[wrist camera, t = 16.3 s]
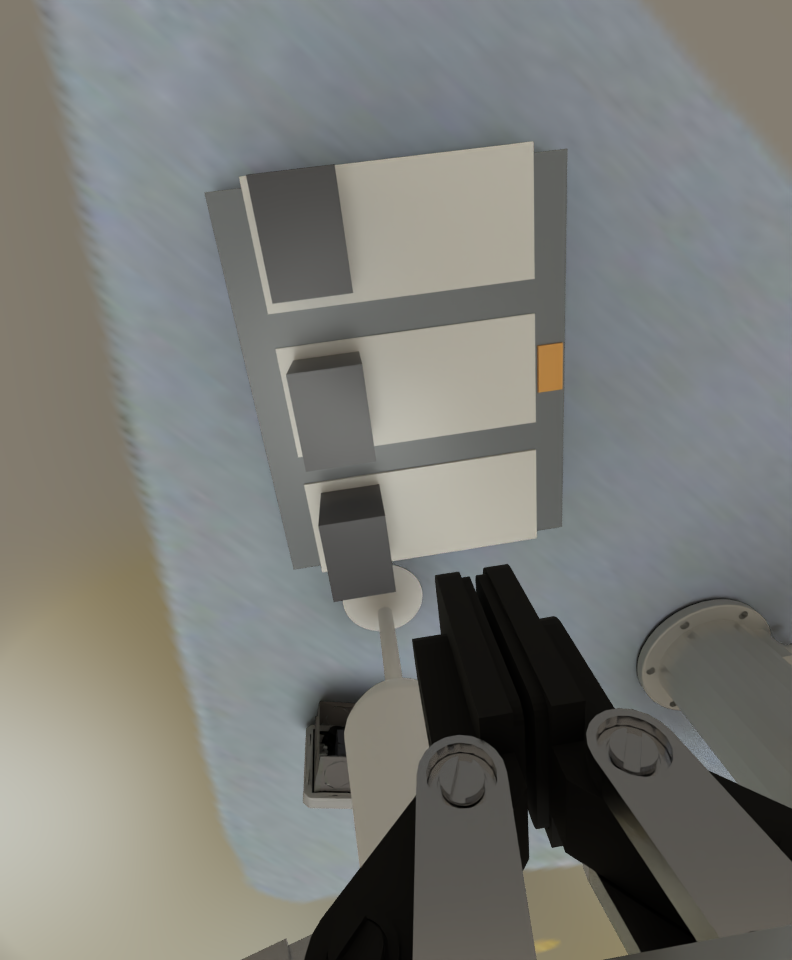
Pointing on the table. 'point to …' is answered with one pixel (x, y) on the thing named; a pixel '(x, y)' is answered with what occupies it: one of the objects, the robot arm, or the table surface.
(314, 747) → the electrical switch
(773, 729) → the robot arm
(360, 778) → the champagne flute
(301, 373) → the block
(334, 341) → the breaker panel
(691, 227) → the table surface
